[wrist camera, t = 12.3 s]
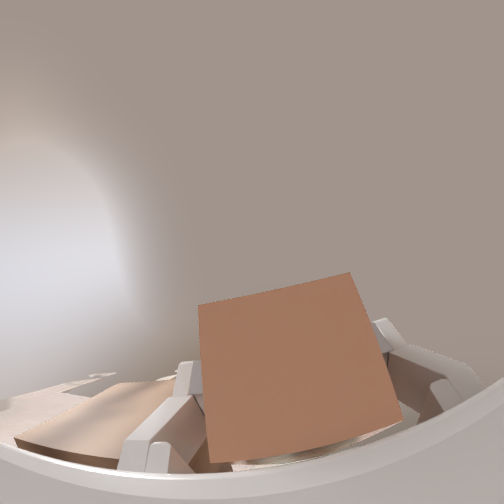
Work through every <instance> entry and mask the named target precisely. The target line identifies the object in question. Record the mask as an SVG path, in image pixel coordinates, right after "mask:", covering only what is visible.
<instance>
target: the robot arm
mask: <svg viewBox="0 0 504 504" xmlns="http://www.w3.org/2000/svg"><path fill="white" fill-rule="evenodd" d="M371 325H372V328H373V331H374V333H375V336H376V339H377V341H378V344H379V347H380V349H381V352H382V355H383V358H384V361H385V363H386V366H387V369H388V372H389V375H390V378H391V381H392V384H393V387H394V390H395V393H396V396H397V399H398V400H399V401H401V402H402V403H404V404H405V405H407V406H409V407H411V408H412V409H413V410H415V411H417V412H418V413H420V417H419V419H418V422H417V425H416V426H413V427H411V428H409V429H406V430H404V431H401V432H399V433H396V434H394V435H391V436H388V437H386V438H383V439H380V440H377V441H375V442H372V443H369V444H366V445H363V446H359V447H356V448H353V449H350V450H346V451H343V452H339V453H335V454H332V455H328V456H324V457H320V458H316V459H311V460H307V461H302V462H297V463H292V464H287V465H281V466H275V467H269V468H262V469H254V470H245V471H235V472H223V473H204V474H196V473H195V472H194V471H193V470H192V469H191V468H190V467H189V465H188V463H189V462H190V461H191V459H192V458H193V456H194V455H195V453H196V452H197V450H198V449H199V447H200V446H201V444H202V443H203V441H204V440H205V439H206V437H207V431H206V420H205V410H204V398H203V386H202V372H201V360H195V361H188V362H181V363H180V364H179V366H178V371H177V376H176V381H175V386H174V391H173V396H172V397H168V398H167V399H166V400H165V401H164V402H163V403H162V404H161V405H160V406H159V407H158V408H157V409H156V410H155V411H154V412H153V413H152V414H151V415H150V416H149V417H148V418H147V419H146V420H145V421H144V422H143V423H142V424H141V425H140V426H139V427H137V428H136V429H135V430H134V431H133V432H132V433H131V434H130V435H129V436H128V437H127V438H126V439H125V440H124V444H123V447H122V451H121V455H120V459H119V463H118V466H117V470H113V469H106V468H99V467H93V466H87V465H82V464H77V463H72V462H67V461H63V460H59V459H55V458H51V457H47V456H43V455H40V454H36V453H33V452H29V451H26V450H23V449H20V448H17V447H14V446H11V445H9V444H6V443H4V442H1V441H0V504H504V377H503V378H501V379H500V380H498V381H497V382H495V383H494V384H492V385H491V386H489V387H488V388H486V387H485V386H484V384H483V383H482V382H481V380H480V379H479V378H478V377H477V375H476V374H475V373H474V372H473V371H472V369H471V368H470V367H469V365H467V364H465V363H462V362H459V361H456V360H454V359H450V358H448V357H445V356H443V355H440V354H437V353H434V352H432V351H429V350H426V349H424V348H421V347H418V346H416V345H413V344H410V345H407V343H406V342H405V341H404V339H403V338H402V337H401V336H400V334H399V333H398V331H397V330H396V329H395V327H394V326H393V325H392V323H391V322H390V321H389V320H388V319H387V318H383V319H380V320H377V321H374V322H372V323H371Z"/></svg>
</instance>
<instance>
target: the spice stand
mask: <svg viewBox="0 0 504 504" xmlns="http://www.w3.org/2000/svg"><path fill="white" fill-rule="evenodd" d="M175 381H176V379H175V380H163V381H151V382H135V383H118V384H116V385H114V386H112V387H110V388H108V389H107V390H105V391H103V392H101V393H100V394H98V395H96V396H94V397H92V398H90V399H88V400H87V401H85V402H83V403H81V404H79V405H77V406H75V407H73V408H71V409H70V410H68V411H66V412H64V413H62V414H60V415H58V416H56V417H54V418H52V419H50V420H48V421H46V422H44V423H42V424H40V425H38V426H36V427H34V428H32V429H30V430H28V431H26V432H24V433H22V434H20V435H18V436H16V437H14V439H15V442H16V444H17V446H18V448H20V449H23V450H26V451H29V452H33V453H36V454H40V455H43V456H47V457H51V458H55V459H59V460H63V461H67V462H72V463H77V464H82V465H87V466H93V467H99V468H106V469H113V470H117V466H118V463H119V459H120V455H121V451H122V447H123V444H124V440H125V439H126V438H127V437H128V436H129V435H130V434H131V433H132V432H133V431H134V430H135V429H136V428H137V427H139V426H140V425H141V424H142V423H143V422H144V421H145V420H146V419H147V418H148V417H149V416H150V415H151V414H152V413H153V412H154V411H155V410H156V409H157V408H158V407H159V406H160V405H161V404H162V403H163V402H164V401H165V400H166V399H167V398H168V397H172V396H173V391H174V386H175ZM355 448H356V447H355ZM352 449H353V448H352ZM349 450H350V449H349ZM342 452H343V451H342ZM338 453H339V452H338ZM331 455H332V454H331ZM327 456H328V455H327ZM323 457H324V456H323ZM318 458H320V457H318ZM314 459H316V458H314ZM310 460H311V459H310ZM305 461H307V460H305ZM300 462H302V461H300ZM295 463H297V462H295ZM290 464H292V463H290ZM188 465H189V467H190V468H191V469H192V470H193V471H194V472H195V473H196V474H204V473H223V472H233V470H232V466H231V464H213V463H210V458H209V449H208V440H207V437H206V439H205V440H204V441H203V443H202V444H201V446H200V447H199V449H198V450H197V452H196V453H195V455H194V456H193V458H192V459H191V461H190V462H189V463H188ZM284 465H287V464H284ZM278 466H281V465H278ZM272 467H275V466H272ZM265 468H269V467H265ZM257 469H262V468H257ZM250 470H254V469H250Z"/></svg>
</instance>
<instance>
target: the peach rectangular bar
mask: <svg viewBox="0 0 504 504" xmlns="http://www.w3.org/2000/svg"><path fill="white" fill-rule="evenodd" d="M198 316H199V339H200V357H201V372H202V386H203V398H204V410H205V420H206V431H207V440H208V449H209V458H210V463H213V464H235V465H265V464H285V463H291V462H296V461H301V460H306V459H310V458H315V457H319V456H323V455H326V454H329V453H332V452H334V451H337V450H340V449H342V448H344V447H347V446H350V445H352V444H355V443H357V442H359V441H361V440H364V439H366V438H368V437H370V436H372V435H375V434H377V433H379V432H381V431H383V430H385V429H387V428H389V427H391V426H393V425H395V424H397V423H399V422H401V421H403V420H404V419H403V416H402V412H401V409H400V406H399V403H398V399H397V396H396V393H395V390H394V387H393V384H392V381H391V378H390V375H389V372H388V369H387V366H386V363H385V361H384V358H383V355H382V352H381V349H380V347H379V344H378V341H377V339H376V336H375V333H374V331H373V328H372V325H371V323H370V321H369V318H368V315H367V313H366V310H365V308H364V305H363V303H362V300H361V298H360V296H359V293H358V291H357V288H356V286H355V284H354V281H353V279H352V277H351V274H350V272H349V273H345V274H341V275H337V276H332V277H328V278H324V279H320V280H315V281H311V282H307V283H302V284H298V285H294V286H289V287H285V288H280V289H275V290H271V291H266V292H262V293H257V294H252V295H247V296H242V297H238V298H233V299H228V300H223V301H217V302H212V303H208V304H202V305H198Z"/></svg>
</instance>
